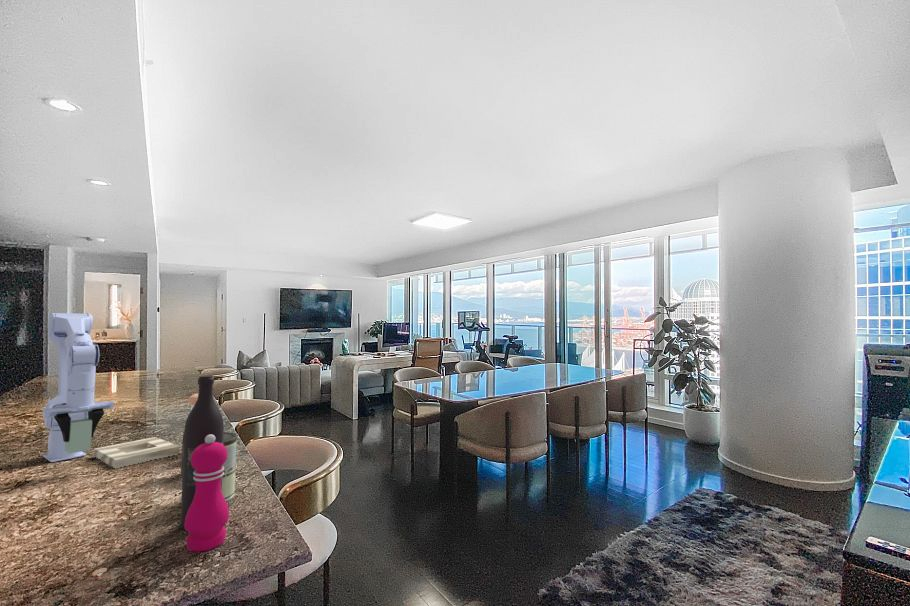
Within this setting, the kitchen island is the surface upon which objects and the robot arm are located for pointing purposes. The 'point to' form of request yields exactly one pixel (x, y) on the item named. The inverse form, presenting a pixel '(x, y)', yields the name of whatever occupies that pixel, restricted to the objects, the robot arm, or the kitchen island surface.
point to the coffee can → (229, 466)
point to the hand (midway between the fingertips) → (78, 439)
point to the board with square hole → (135, 452)
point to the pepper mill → (207, 498)
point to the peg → (79, 436)
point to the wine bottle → (199, 437)
